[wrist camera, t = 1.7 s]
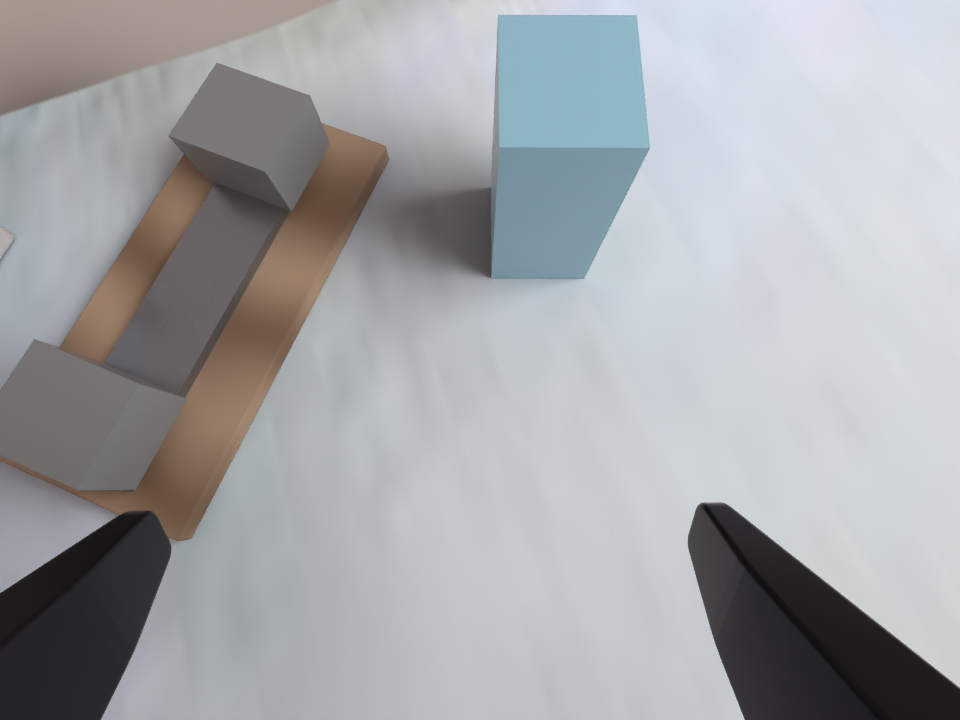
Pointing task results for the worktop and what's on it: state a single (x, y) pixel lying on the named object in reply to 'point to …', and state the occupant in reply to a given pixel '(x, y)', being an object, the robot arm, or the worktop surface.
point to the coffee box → (5, 240)
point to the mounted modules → (116, 394)
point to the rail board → (245, 339)
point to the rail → (197, 290)
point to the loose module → (563, 139)
